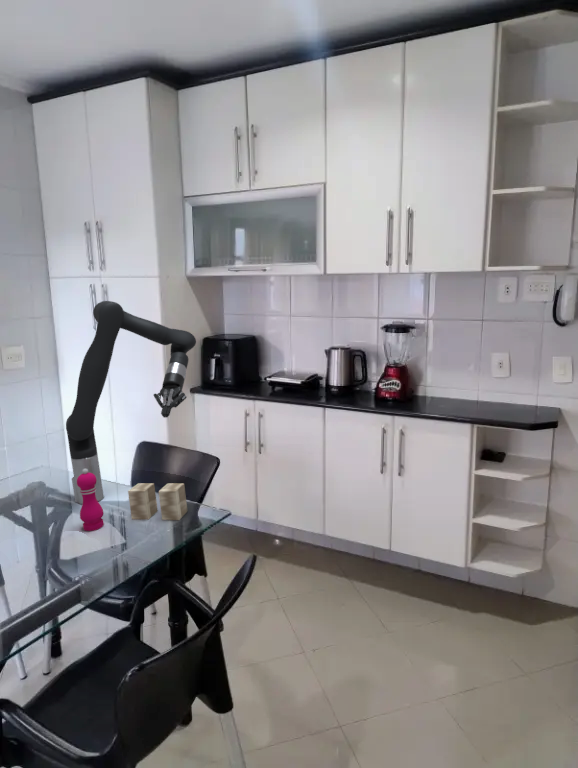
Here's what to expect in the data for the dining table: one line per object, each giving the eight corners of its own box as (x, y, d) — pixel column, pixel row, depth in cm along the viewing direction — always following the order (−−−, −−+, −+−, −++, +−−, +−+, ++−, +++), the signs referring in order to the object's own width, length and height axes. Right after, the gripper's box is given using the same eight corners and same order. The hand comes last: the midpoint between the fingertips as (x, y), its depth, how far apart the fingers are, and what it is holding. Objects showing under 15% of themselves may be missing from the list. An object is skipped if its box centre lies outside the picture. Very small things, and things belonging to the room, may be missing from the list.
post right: (162, 519, 174) (158, 491, 172) (171, 511, 180) (167, 483, 178) (179, 520, 172) (175, 491, 170) (187, 511, 179) (184, 483, 177)
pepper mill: (80, 533, 168) (71, 474, 165) (83, 524, 175) (74, 467, 172) (104, 529, 170) (95, 470, 166) (105, 520, 177) (97, 463, 173)
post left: (131, 519, 176) (127, 491, 174) (141, 510, 183) (138, 483, 181) (148, 519, 175) (144, 491, 173) (157, 510, 181) (154, 483, 180)
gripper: (154, 372, 199) (143, 411, 189) (187, 370, 196) (177, 410, 186) (162, 383, 205) (152, 422, 195) (194, 382, 202) (185, 421, 192)
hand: (164, 416), depth 191 cm, fingers closed
